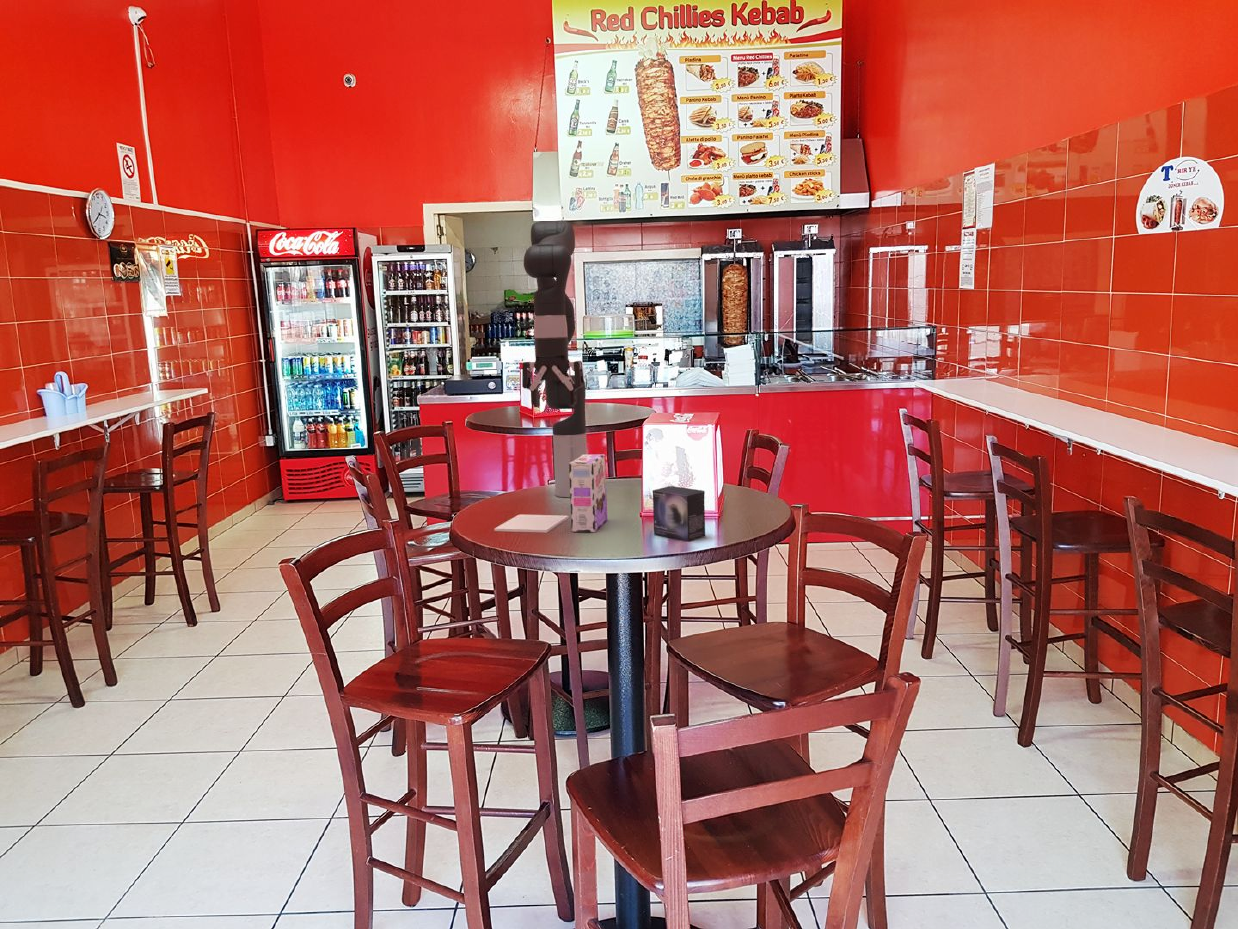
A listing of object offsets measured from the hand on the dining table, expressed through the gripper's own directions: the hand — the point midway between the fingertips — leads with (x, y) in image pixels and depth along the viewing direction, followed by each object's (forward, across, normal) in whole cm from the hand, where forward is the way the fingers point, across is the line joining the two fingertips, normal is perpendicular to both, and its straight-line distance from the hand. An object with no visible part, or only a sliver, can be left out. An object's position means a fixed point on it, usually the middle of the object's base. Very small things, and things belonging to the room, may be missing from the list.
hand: (554, 406), depth 220 cm
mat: (+29, +8, -4) cm, 30 cm away
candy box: (+29, -6, -4) cm, 30 cm away
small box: (+29, -29, +2) cm, 41 cm away
